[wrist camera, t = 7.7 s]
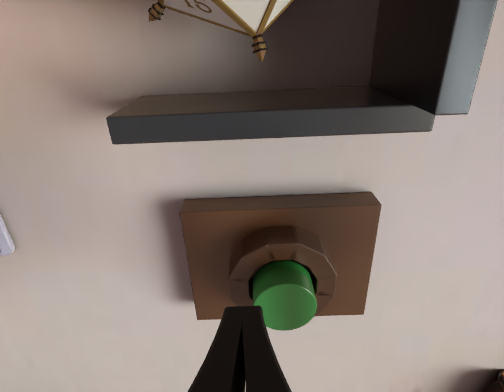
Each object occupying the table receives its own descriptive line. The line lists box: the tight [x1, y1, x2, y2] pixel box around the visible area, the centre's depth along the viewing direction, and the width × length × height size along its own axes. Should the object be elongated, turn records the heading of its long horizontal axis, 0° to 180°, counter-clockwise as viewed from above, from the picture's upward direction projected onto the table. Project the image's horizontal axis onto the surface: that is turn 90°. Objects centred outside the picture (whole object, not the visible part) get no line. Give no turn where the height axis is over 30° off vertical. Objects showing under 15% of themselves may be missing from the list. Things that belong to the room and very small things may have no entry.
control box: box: [180, 192, 381, 320], centre depth 21 cm, size 12×9×4 cm
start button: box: [253, 261, 317, 330], centre depth 19 cm, size 4×4×2 cm
